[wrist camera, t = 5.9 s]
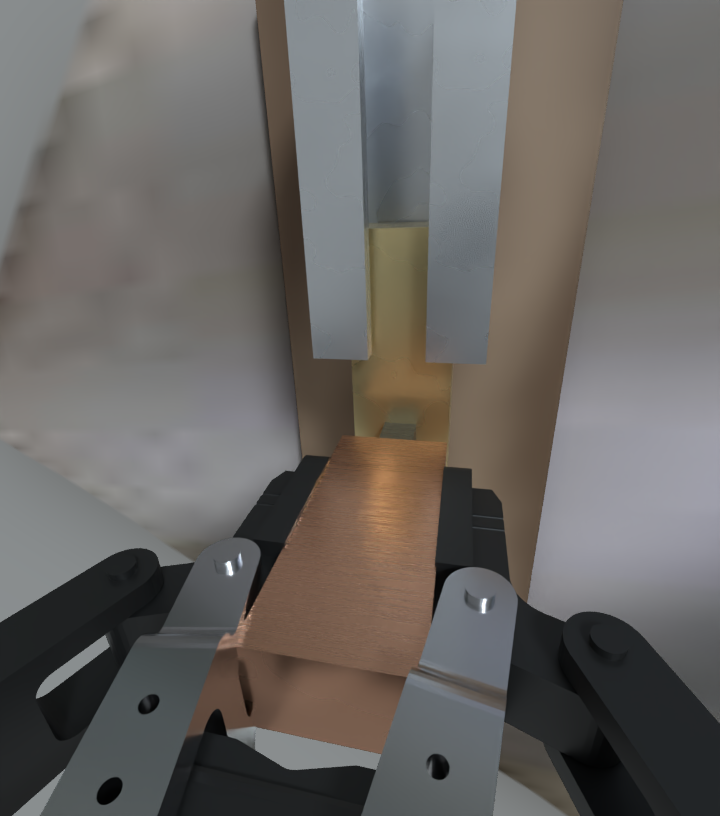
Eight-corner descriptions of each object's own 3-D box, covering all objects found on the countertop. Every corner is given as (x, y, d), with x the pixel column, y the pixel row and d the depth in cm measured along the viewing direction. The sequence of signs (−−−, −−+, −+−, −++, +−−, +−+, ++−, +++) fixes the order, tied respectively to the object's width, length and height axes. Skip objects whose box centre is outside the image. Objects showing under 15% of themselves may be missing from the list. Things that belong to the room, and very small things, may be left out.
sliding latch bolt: (462, 220, 14) (446, 283, 4) (441, 610, 21) (416, 988, 11) (366, 222, 15) (146, 283, 5) (376, 600, 22) (297, 950, 12)
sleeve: (503, -11, 14) (531, -180, 8) (479, 304, 19) (485, 364, 12) (356, 8, 15) (273, -128, 9) (365, 303, 20) (313, 358, 13)
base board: (624, -55, 14) (634, -71, 13) (522, 601, 26) (524, 616, 25) (265, -5, 17) (253, -16, 16) (320, 574, 28) (315, 586, 27)
